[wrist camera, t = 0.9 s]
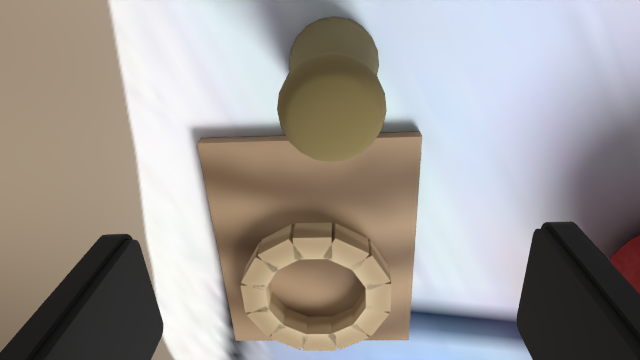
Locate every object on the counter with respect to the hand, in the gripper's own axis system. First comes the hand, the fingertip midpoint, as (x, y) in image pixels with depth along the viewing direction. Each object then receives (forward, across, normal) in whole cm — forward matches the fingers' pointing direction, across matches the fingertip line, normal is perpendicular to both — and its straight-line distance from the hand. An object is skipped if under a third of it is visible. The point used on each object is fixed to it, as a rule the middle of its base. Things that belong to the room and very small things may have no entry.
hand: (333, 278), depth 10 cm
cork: (+21, 0, -1) cm, 21 cm away
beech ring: (+20, +2, +17) cm, 27 cm away
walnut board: (+21, +2, +14) cm, 26 cm away
